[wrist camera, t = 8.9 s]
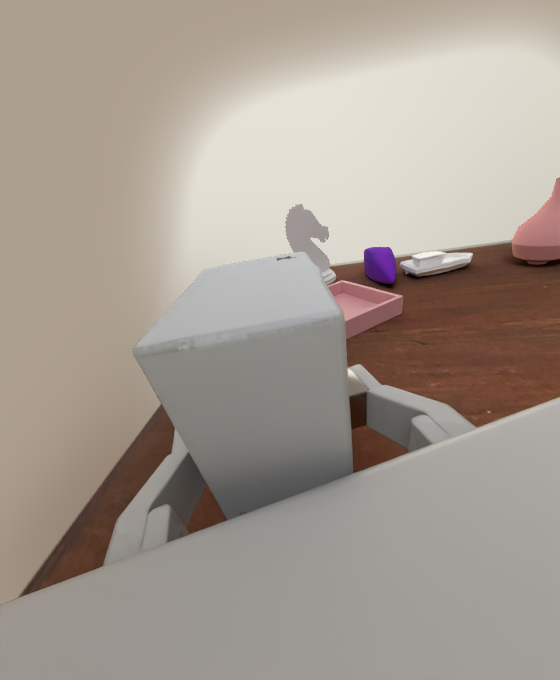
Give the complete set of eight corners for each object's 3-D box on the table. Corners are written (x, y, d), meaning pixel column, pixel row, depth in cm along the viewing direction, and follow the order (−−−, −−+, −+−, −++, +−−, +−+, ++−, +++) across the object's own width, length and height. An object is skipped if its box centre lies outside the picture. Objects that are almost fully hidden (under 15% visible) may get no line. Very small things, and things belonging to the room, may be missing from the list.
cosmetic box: (263, 458, 16) (201, 267, 10) (331, 449, 15) (309, 247, 10) (258, 591, 10) (118, 348, 4) (362, 580, 10) (356, 307, 4)
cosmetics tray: (317, 353, 30) (315, 334, 29) (273, 321, 40) (269, 306, 38) (402, 313, 34) (403, 295, 33) (343, 294, 44) (342, 279, 43)
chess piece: (341, 284, 49) (336, 197, 42) (292, 293, 49) (278, 209, 42) (330, 271, 58) (324, 197, 50) (288, 279, 58) (276, 207, 51)
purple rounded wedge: (378, 270, 40) (359, 243, 52) (377, 297, 43) (359, 266, 55) (410, 265, 39) (383, 239, 51) (406, 293, 42) (382, 262, 54)
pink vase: (496, 265, 43) (516, 185, 37) (519, 254, 46) (542, 177, 40) (557, 272, 37) (593, 176, 31) (581, 258, 39) (617, 168, 34)
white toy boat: (397, 272, 49) (398, 255, 47) (459, 260, 48) (462, 242, 47) (413, 281, 44) (415, 262, 42) (483, 268, 43) (488, 248, 42)
